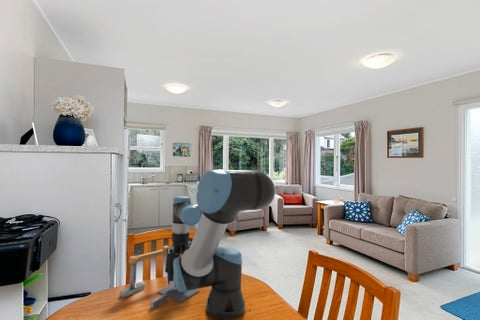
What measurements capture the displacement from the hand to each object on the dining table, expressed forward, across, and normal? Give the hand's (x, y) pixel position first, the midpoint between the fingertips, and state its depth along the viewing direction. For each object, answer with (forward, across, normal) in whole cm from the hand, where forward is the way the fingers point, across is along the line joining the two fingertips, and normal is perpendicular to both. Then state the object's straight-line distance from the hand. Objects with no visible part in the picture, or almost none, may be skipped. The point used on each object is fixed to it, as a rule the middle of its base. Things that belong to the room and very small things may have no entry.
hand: (178, 284), depth 114 cm
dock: (+3, +12, -8) cm, 14 cm away
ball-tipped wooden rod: (-9, +4, -15) cm, 18 cm away
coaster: (+3, 0, 0) cm, 3 cm away
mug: (+1, -1, 0) cm, 1 cm away
